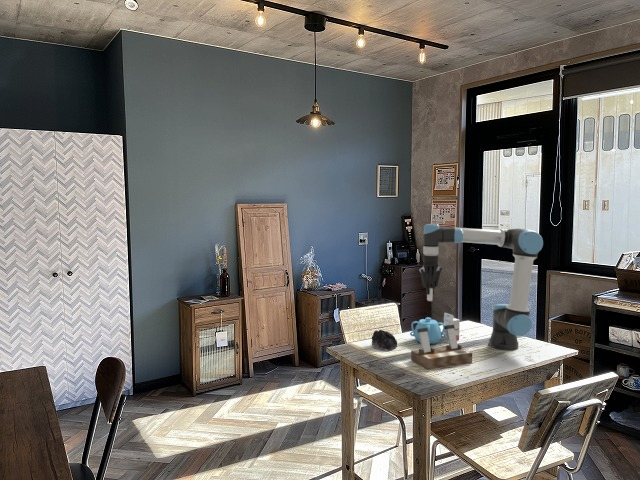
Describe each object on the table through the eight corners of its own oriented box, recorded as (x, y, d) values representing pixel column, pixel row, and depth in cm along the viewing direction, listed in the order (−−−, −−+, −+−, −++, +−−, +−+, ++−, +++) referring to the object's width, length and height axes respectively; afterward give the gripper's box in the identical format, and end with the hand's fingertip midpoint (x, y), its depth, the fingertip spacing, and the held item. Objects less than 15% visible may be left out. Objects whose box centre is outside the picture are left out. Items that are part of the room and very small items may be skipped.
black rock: (401, 350, 258) (402, 332, 258) (380, 352, 252) (381, 332, 253) (387, 345, 270) (388, 327, 271) (367, 346, 264) (367, 328, 265)
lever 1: (429, 351, 238) (424, 328, 241) (431, 351, 236) (427, 327, 239) (421, 352, 236) (417, 329, 239) (423, 352, 234) (419, 328, 237)
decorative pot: (448, 343, 268) (449, 319, 267) (425, 347, 261) (426, 322, 260) (429, 336, 283) (430, 313, 282) (407, 339, 276) (407, 316, 275)
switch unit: (454, 354, 250) (454, 341, 249) (472, 362, 237) (472, 348, 236) (411, 360, 240) (411, 346, 240) (427, 369, 227) (427, 355, 227)
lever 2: (456, 348, 244) (451, 325, 247) (458, 347, 242) (454, 324, 245) (448, 349, 242) (444, 326, 245) (451, 348, 240) (446, 325, 243)
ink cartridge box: (459, 339, 275) (460, 314, 274) (452, 341, 273) (453, 315, 272) (449, 336, 283) (450, 311, 282) (442, 337, 281) (443, 312, 280)
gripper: (437, 253, 250) (436, 298, 252) (415, 254, 245) (414, 300, 247) (445, 254, 243) (444, 301, 245) (423, 256, 238) (423, 303, 241)
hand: (429, 300), depth 246 cm, fingers closed
